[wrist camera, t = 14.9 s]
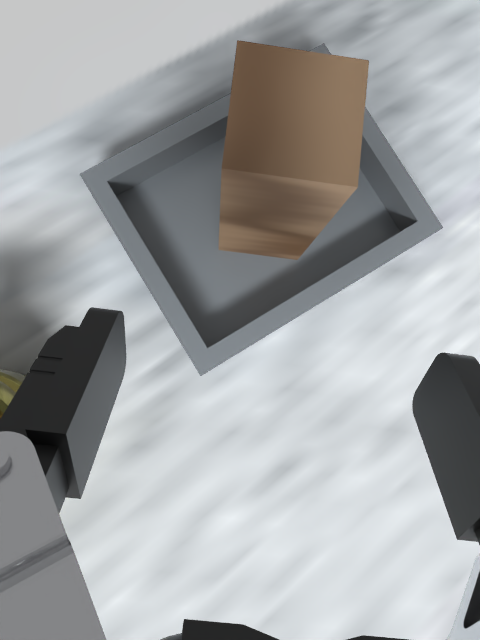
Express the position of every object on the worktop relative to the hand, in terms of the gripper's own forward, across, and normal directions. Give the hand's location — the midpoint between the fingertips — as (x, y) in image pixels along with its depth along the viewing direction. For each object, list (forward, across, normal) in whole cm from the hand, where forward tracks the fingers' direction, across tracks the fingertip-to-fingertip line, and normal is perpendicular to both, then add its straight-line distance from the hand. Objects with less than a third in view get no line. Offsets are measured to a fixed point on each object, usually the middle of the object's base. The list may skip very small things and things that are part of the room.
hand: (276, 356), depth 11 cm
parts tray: (+15, 0, +4) cm, 16 cm away
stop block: (+14, 0, +3) cm, 15 cm away
